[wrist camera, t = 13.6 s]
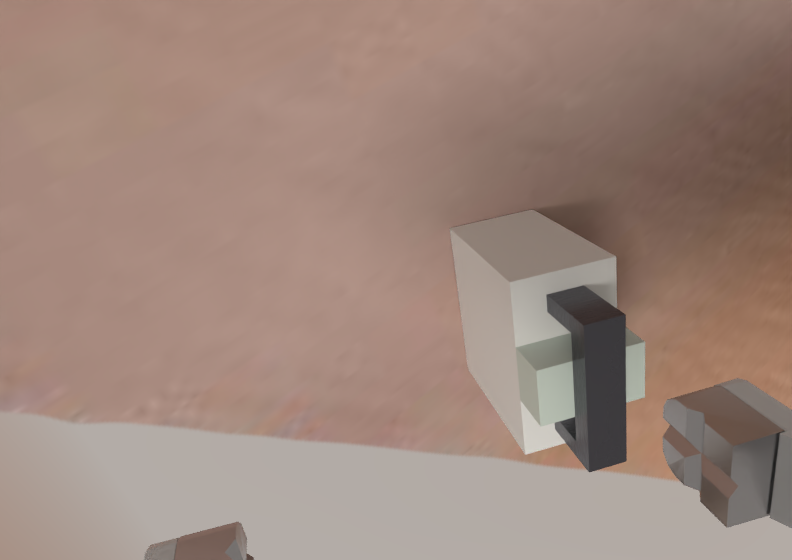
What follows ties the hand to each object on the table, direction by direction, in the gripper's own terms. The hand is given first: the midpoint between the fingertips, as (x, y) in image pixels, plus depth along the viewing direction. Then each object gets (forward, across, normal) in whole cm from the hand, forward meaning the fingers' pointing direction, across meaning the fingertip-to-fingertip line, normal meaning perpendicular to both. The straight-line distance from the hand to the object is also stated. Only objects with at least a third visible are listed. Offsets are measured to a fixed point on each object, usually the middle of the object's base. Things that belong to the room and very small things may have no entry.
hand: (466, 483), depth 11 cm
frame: (+22, -13, +13) cm, 29 cm away
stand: (+34, -13, +13) cm, 39 cm away
